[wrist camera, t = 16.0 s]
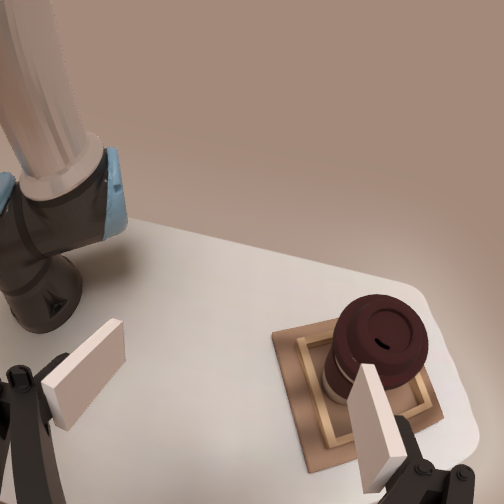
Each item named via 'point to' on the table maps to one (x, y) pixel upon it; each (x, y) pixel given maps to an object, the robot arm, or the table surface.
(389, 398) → the cup rack
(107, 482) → the table surface
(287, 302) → the table surface
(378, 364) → the coffee cup
